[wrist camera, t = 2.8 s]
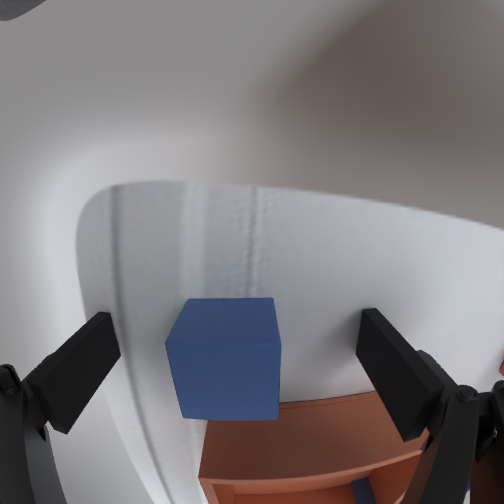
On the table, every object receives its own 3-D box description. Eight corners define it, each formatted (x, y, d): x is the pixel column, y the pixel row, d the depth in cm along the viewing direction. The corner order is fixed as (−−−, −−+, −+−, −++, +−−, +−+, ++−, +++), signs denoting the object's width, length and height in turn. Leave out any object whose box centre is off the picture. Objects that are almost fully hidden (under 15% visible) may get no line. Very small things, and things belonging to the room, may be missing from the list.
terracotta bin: (210, 403, 14) (197, 477, 9) (415, 381, 14) (453, 435, 9) (229, 492, 17) (225, 538, 12) (369, 477, 17) (382, 518, 12)
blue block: (188, 298, 13) (163, 342, 9) (273, 297, 13) (281, 343, 9) (197, 365, 14) (182, 418, 10) (272, 365, 14) (278, 420, 10)
